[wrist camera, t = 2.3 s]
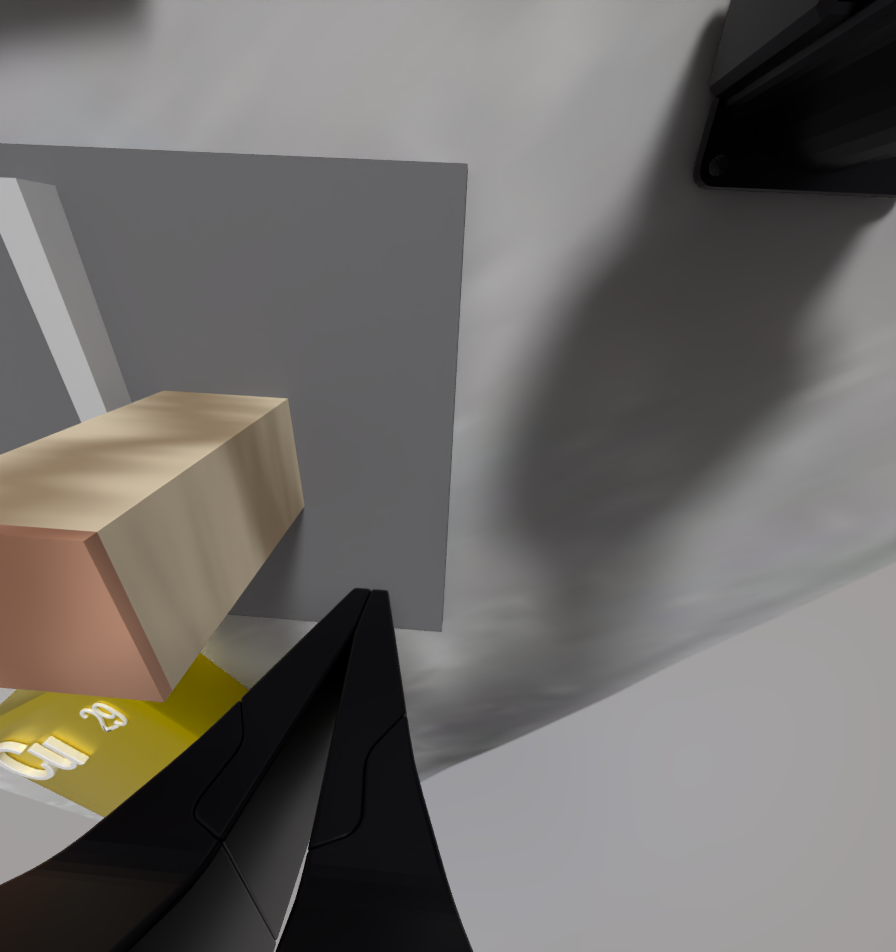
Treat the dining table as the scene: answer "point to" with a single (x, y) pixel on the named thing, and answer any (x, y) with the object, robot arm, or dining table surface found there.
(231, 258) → the mat
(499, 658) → the dining table surface
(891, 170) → the robot arm
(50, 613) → the beech block
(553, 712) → the dining table surface
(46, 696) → the element tile
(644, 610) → the dining table surface
